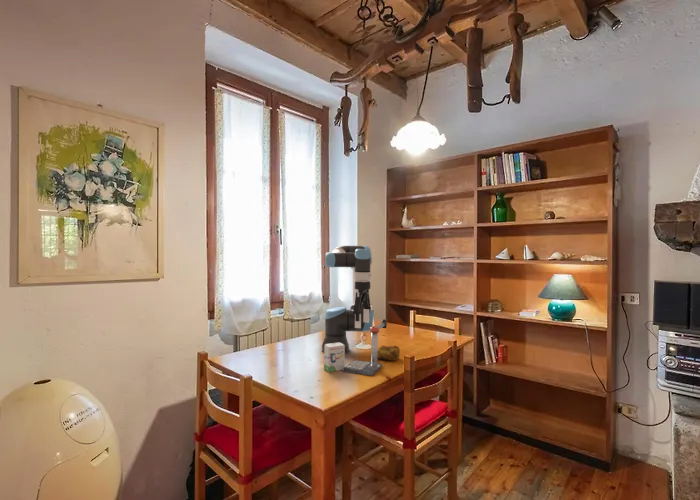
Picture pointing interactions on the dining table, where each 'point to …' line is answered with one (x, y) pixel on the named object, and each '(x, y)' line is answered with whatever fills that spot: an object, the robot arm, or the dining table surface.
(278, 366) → the dining table surface
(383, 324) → the lever
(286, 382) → the dining table surface
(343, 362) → the ink box
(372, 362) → the stand
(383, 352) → the bread roll
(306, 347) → the dining table surface
